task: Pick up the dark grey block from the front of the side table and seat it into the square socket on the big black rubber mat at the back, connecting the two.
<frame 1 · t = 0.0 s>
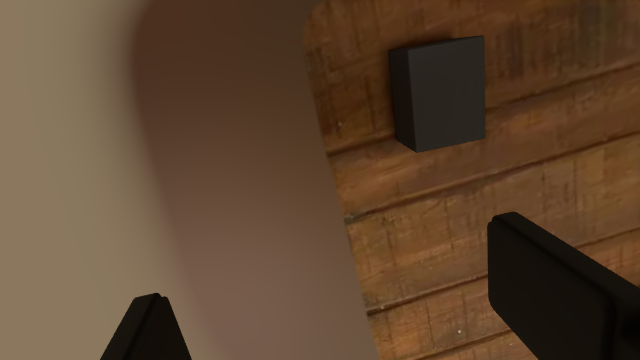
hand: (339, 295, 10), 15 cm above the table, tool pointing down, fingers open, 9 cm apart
dark grey block: (424, 91, 24), on the table
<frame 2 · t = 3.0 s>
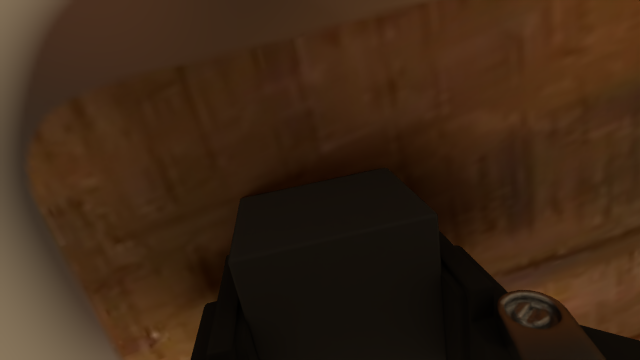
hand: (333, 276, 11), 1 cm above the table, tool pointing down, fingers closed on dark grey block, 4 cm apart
dark grey block: (330, 266, 12), on the table, touching gripper
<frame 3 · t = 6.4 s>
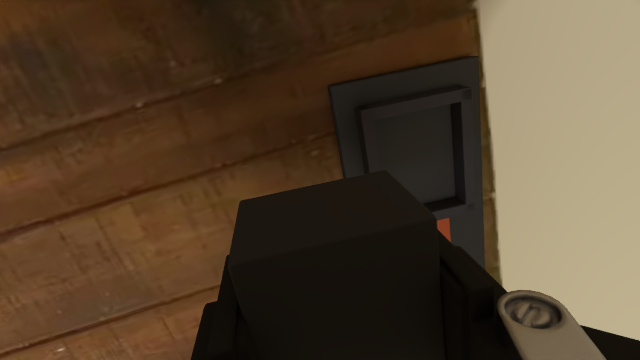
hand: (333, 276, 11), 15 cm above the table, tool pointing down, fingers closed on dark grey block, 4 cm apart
base pad: (412, 192, 27), on the table
dark grey block: (330, 268, 12), point 14 cm above the table, touching gripper
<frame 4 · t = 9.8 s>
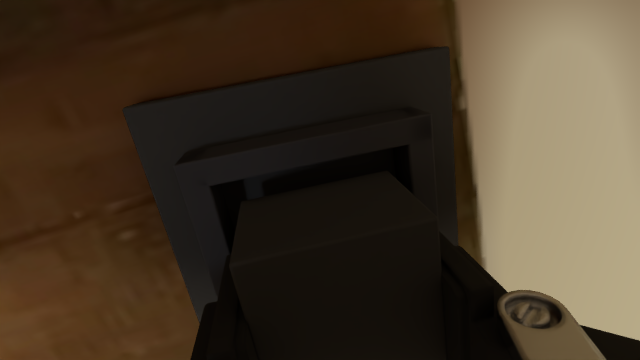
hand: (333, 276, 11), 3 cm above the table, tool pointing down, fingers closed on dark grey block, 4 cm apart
base pad: (333, 299, 15), on the table
dark grey block: (331, 269, 12), point 2 cm above the table, touching gripper
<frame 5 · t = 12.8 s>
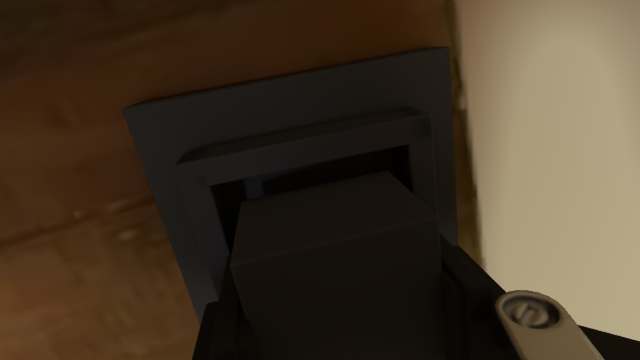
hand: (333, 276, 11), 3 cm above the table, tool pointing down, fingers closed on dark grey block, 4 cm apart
base pad: (333, 299, 15), on the table
dark grey block: (331, 269, 12), point 2 cm above the table, touching gripper
when the fingers open (3 cm above the table, at t = 15.2 s): dark grey block drops 2 cm, resting on base pad.
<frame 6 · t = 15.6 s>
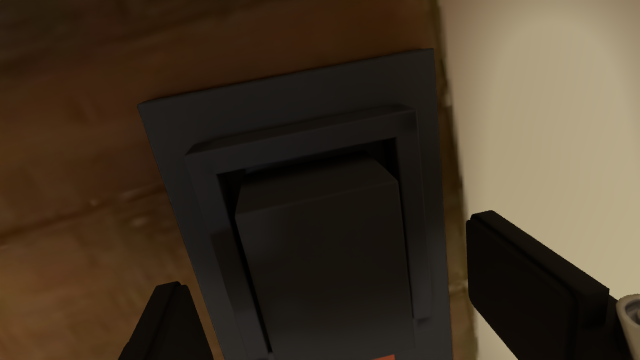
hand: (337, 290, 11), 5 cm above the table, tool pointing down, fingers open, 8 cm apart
base pad: (329, 283, 16), on the table
dark grey block: (319, 235, 14), point 1 cm above the table, touching base pad
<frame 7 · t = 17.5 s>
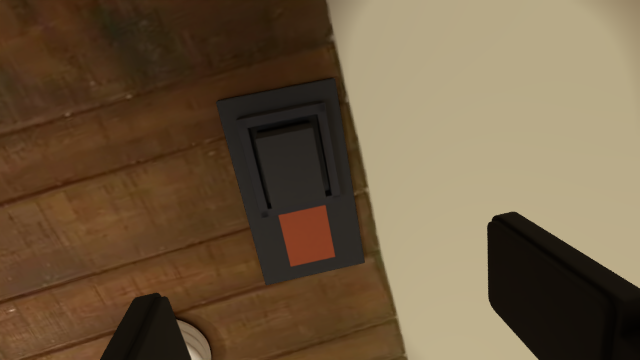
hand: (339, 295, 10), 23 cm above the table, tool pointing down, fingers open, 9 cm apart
base pad: (297, 186, 33), on the table
dark grey block: (290, 159, 31), point 1 cm above the table, touching base pad
coaster: (163, 353, 37), on the table
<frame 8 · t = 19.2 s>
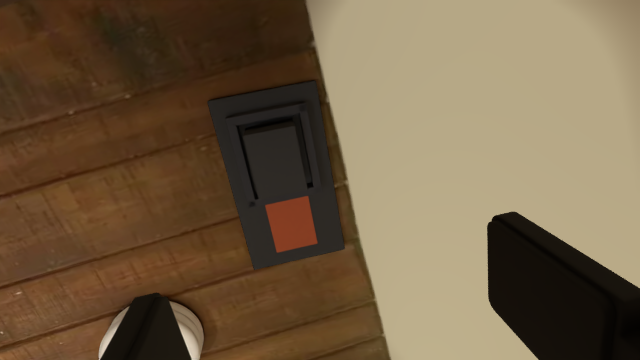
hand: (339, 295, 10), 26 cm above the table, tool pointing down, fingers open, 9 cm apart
base pad: (282, 179, 36), on the table
dark grey block: (275, 154, 35), point 1 cm above the table, touching base pad
coaster: (159, 333, 40), on the table
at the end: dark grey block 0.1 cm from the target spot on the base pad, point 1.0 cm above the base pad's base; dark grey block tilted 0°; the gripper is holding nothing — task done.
